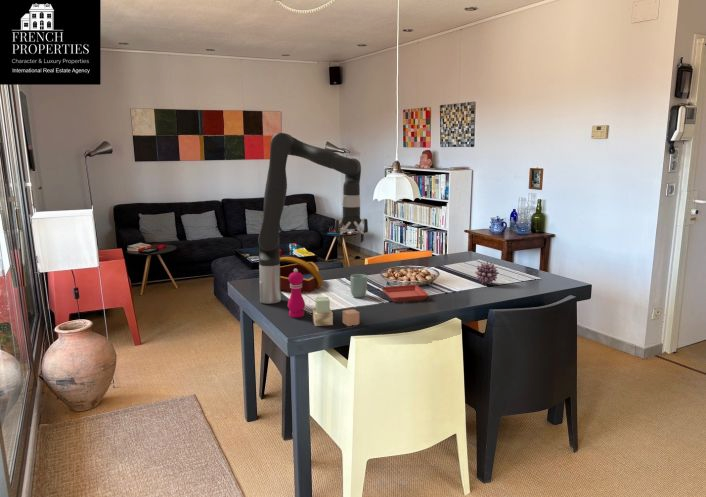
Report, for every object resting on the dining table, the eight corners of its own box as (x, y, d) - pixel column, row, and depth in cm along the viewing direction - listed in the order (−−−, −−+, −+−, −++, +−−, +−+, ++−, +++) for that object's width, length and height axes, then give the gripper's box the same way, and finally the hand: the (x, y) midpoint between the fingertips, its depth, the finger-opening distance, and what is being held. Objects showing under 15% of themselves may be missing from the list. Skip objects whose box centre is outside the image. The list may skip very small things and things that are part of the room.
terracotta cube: (347, 326, 210) (348, 314, 209) (342, 322, 214) (342, 310, 213) (359, 324, 212) (359, 312, 211) (353, 320, 216) (353, 309, 215)
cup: (365, 299, 246) (365, 278, 244) (348, 298, 248) (348, 277, 246) (368, 294, 254) (368, 274, 252) (352, 293, 255) (352, 273, 253)
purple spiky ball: (500, 283, 276) (502, 261, 273) (493, 288, 266) (494, 265, 263) (479, 280, 282) (480, 258, 279) (471, 285, 272) (472, 262, 269)
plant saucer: (391, 304, 240) (391, 297, 240) (380, 293, 258) (380, 286, 257) (429, 301, 244) (429, 294, 244) (415, 291, 262) (415, 284, 261)
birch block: (315, 326, 210) (315, 314, 209) (312, 320, 216) (312, 309, 215) (332, 325, 211) (332, 313, 210) (329, 319, 218) (329, 308, 217)
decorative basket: (251, 288, 273) (247, 260, 268) (292, 270, 294) (289, 244, 289) (298, 302, 252) (294, 272, 247) (338, 281, 272) (336, 253, 268)
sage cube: (317, 313, 210) (317, 301, 209) (315, 309, 215) (315, 297, 214) (329, 312, 211) (329, 300, 210) (328, 308, 216) (327, 296, 215)
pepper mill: (288, 312, 226) (287, 266, 222) (305, 312, 226) (304, 266, 223) (287, 318, 219) (286, 270, 215) (305, 317, 219) (304, 270, 216)
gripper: (336, 206, 224) (336, 244, 228) (369, 206, 227) (369, 243, 230) (333, 204, 232) (333, 241, 235) (365, 204, 234) (365, 240, 237)
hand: (351, 242), depth 232 cm, fingers open, 8 cm apart
